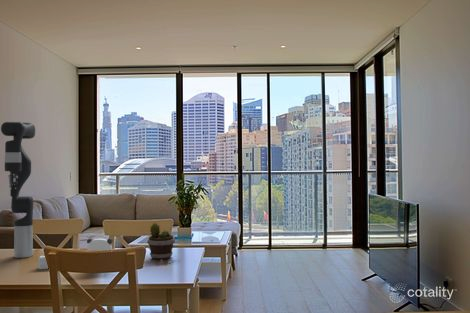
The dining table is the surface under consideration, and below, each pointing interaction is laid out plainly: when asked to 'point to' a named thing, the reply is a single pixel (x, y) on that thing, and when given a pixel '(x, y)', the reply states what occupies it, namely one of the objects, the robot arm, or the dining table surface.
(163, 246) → the flowerpot
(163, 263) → the dining table surface
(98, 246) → the panda figurine
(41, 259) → the syrup box
